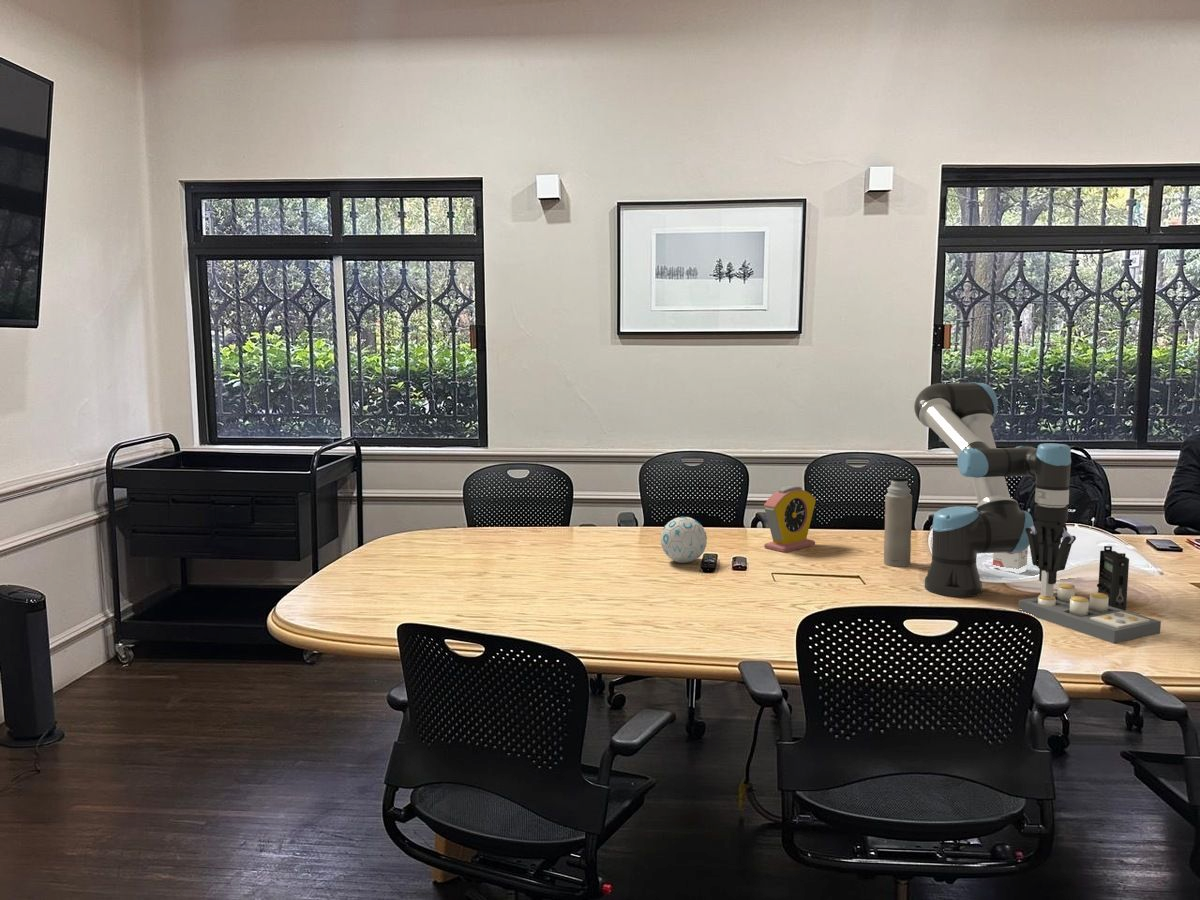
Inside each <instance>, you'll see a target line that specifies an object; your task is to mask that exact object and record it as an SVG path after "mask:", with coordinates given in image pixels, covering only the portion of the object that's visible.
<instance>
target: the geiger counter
mask: <svg viewBox="0 0 1200 900" xmlns="http://www.w3.org/2000/svg"><path fill="white" fill-rule="evenodd" d="M1129 567H1130V558H1129V557H1127V556H1126V553H1125V552H1123V553H1122V552H1121V553H1120V552H1117V551H1116V550H1113V546H1112V545H1104V547H1103V550H1099V568H1098V569H1099V570H1098V583H1097V584H1096V587H1097V593H1104V594H1107V595H1108V597H1109V599H1108V606H1111V607H1114V608H1118V609H1121V610H1124V611H1127V603H1128V599H1127V598H1128V585H1129V584H1128V583H1129V570H1130V569H1129Z"/></svg>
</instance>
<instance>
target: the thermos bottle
mask: <svg viewBox="0 0 1200 900" xmlns="http://www.w3.org/2000/svg"><path fill="white" fill-rule="evenodd" d="M890 479H891V481H890V486H888V487H887V493H886V494H885V496H884V497H885V498H884V499H885V500H884V501H885V503H884V508H885V509H884V536H883V537H884V538H883V539H884V541H883V542H884V544H883V545H884V546H883V564H884V565H886V566H889V567H890V566H891V567H897V568H900V567H901V568H902V567H903V568H904V567H905V568H906V567H909V566H910V565H911V556H912V555H911V550H912V548H911V547H912V540H911V538H912V516H913V515H912V513H913V495H912V494H911V488H910V487H909V486H908V479H909V478H908V477H905V476H892V477H891V478H890Z"/></svg>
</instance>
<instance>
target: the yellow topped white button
mask: <svg viewBox="0 0 1200 900" xmlns="http://www.w3.org/2000/svg"><path fill="white" fill-rule="evenodd" d="M1108 599H1109V597H1108V595H1107V594H1104V593H1098V591H1097V592H1091V593H1090V594H1089V600H1090V602H1089V610H1092V611H1095V612H1099V613H1104V612H1108Z"/></svg>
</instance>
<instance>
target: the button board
mask: <svg viewBox="0 0 1200 900" xmlns="http://www.w3.org/2000/svg"><path fill="white" fill-rule="evenodd" d="M1052 596H1054V597H1055V599H1056V604H1055V606H1050V607H1047V606H1044V605H1041V604H1038V597H1039V596H1036V597H1029V598H1024V599H1023V598H1022V599H1019V600H1018V612H1019V611H1023V612H1026V613H1029V614H1032V615H1034V616H1036V617H1035V618H1037V619H1040V620H1043V621H1046V622H1049V623H1052V624H1055V625H1058V626H1061V627H1063V628H1064V627H1065V628H1067V629H1069V630H1073V631H1076V632H1079V633H1082V634H1085V635H1088V636H1090V637H1094V638H1097V639H1099V640H1102V641H1106V642H1109V643H1111V644H1118V643H1122V642H1127V641H1131V640H1136V639H1140V638H1144V637H1149V636H1154V635H1159V634H1160V633H1161V624H1162V620H1158V619H1154V618H1151V617H1149V616H1144V615H1141V614H1139V613H1134V612H1131V611H1127V610H1125V611H1124V610H1121V609H1118V608H1114V607H1111V606H1108V612H1104V613H1099V612H1095V611H1092V610H1089V608H1088V616H1084V617H1079V616H1076V615H1073V614H1070V613H1069V610H1070V603H1066V602H1063V601H1059V600H1057V593H1053V595H1052ZM1088 601H1089V602H1090V599H1088ZM1019 609H1022V610H1019ZM1034 616H1033V617H1034Z"/></svg>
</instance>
